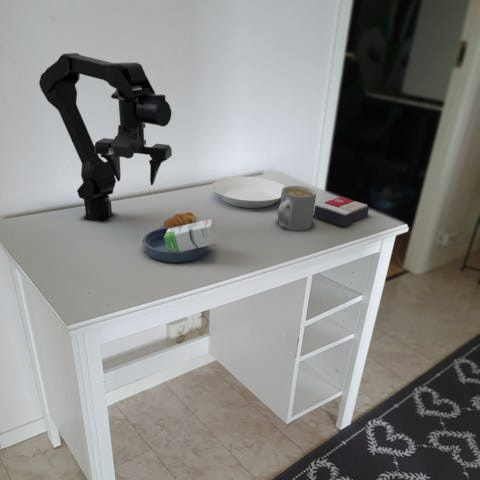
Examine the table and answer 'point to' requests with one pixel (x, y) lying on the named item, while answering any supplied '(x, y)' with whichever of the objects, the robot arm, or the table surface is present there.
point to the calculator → (341, 211)
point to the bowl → (248, 191)
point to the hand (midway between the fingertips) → (135, 182)
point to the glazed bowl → (158, 249)
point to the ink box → (190, 236)
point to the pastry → (180, 220)
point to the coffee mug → (296, 207)
